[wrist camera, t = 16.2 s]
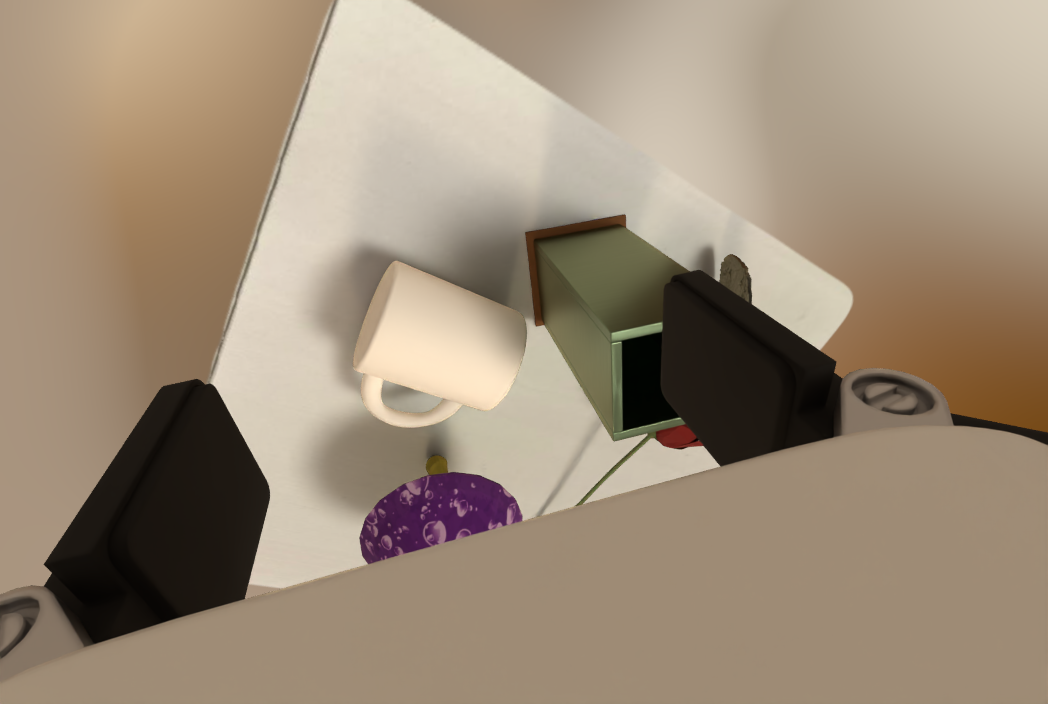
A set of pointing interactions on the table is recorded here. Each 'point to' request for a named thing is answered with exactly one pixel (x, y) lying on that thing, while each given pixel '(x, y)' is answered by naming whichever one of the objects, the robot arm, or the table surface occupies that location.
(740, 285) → the stone fragment
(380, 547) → the decorative mushroom
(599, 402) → the box
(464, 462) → the table surface
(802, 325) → the table surface
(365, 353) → the mug
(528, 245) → the coaster
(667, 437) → the flower
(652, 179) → the table surface
